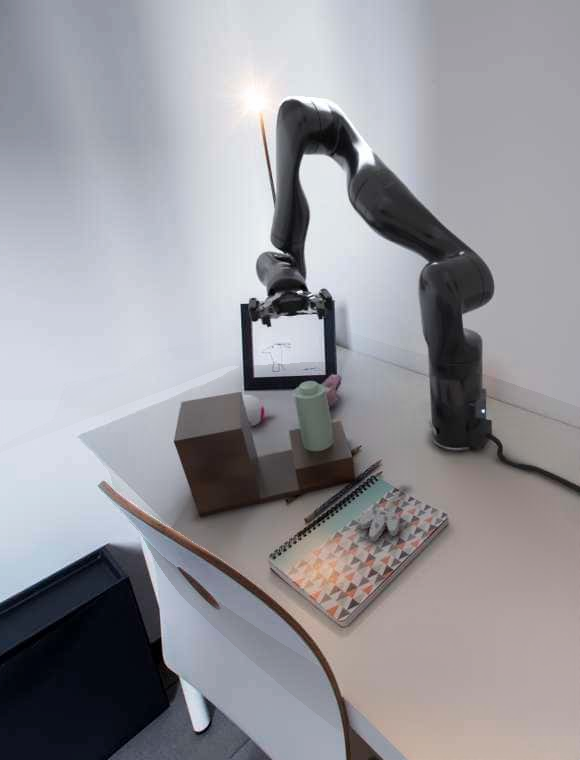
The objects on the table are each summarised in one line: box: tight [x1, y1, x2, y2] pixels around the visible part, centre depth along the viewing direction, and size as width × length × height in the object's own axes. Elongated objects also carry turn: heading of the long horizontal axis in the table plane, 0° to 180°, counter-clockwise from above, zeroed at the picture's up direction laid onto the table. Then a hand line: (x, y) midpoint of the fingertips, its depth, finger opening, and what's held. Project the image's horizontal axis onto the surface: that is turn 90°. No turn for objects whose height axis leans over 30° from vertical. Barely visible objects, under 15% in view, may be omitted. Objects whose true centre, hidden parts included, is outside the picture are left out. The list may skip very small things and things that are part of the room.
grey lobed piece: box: [359, 487, 405, 543], centre depth 79 cm, size 6×12×3 cm, turn 0°
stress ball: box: [242, 394, 270, 427], centre depth 104 cm, size 8×8×7 cm
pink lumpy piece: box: [320, 373, 343, 409], centre depth 109 cm, size 10×5×7 cm, turn 179°
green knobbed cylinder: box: [292, 380, 334, 451], centre depth 86 cm, size 5×5×11 cm
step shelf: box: [173, 391, 357, 518], centre depth 85 cm, size 24×12×14 cm, turn 109°
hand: (294, 317), depth 89 cm, fingers open, 8 cm apart
